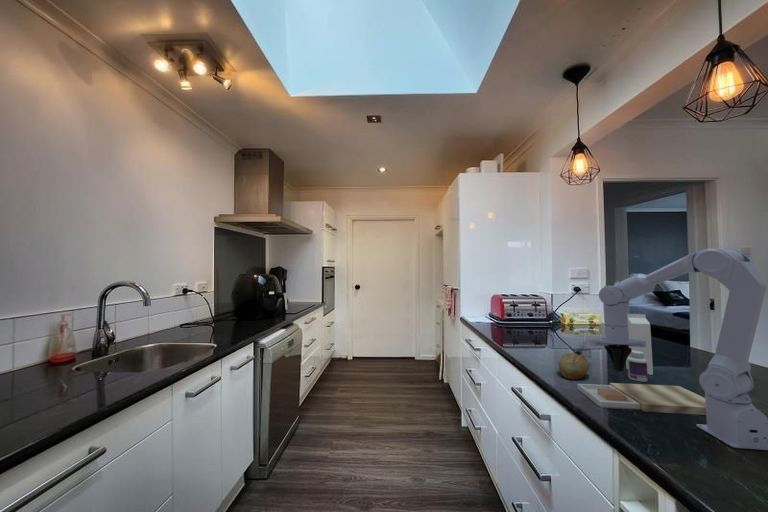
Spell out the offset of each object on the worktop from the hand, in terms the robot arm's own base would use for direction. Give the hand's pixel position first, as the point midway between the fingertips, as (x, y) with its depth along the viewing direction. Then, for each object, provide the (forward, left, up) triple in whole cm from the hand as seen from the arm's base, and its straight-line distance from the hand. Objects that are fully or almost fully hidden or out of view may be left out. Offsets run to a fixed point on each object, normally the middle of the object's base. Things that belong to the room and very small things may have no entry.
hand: (618, 370), depth 91 cm
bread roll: (+21, +4, -9) cm, 23 cm away
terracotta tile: (0, +2, -8) cm, 9 cm away
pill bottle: (+19, -16, -9) cm, 27 cm away
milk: (+28, -22, -9) cm, 37 cm away
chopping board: (0, -11, -9) cm, 14 cm away
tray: (0, +4, -9) cm, 9 cm away
